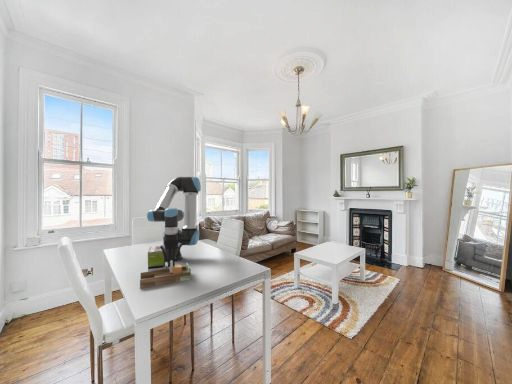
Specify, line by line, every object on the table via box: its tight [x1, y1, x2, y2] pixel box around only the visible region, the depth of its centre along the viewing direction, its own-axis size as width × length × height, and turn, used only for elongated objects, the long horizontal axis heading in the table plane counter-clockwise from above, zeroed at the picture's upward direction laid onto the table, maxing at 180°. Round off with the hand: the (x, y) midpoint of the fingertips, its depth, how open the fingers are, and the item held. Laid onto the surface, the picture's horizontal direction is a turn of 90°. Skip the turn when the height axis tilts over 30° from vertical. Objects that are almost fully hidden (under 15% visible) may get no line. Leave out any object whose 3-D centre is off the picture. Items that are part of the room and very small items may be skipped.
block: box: [172, 264, 182, 274], centre depth 136 cm, size 5×5×4 cm
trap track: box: [139, 262, 192, 289], centre depth 131 cm, size 12×27×6 cm, turn 116°
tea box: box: [147, 245, 166, 272], centre depth 147 cm, size 15×10×15 cm, turn 21°
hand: (171, 271), depth 134 cm, fingers closed
